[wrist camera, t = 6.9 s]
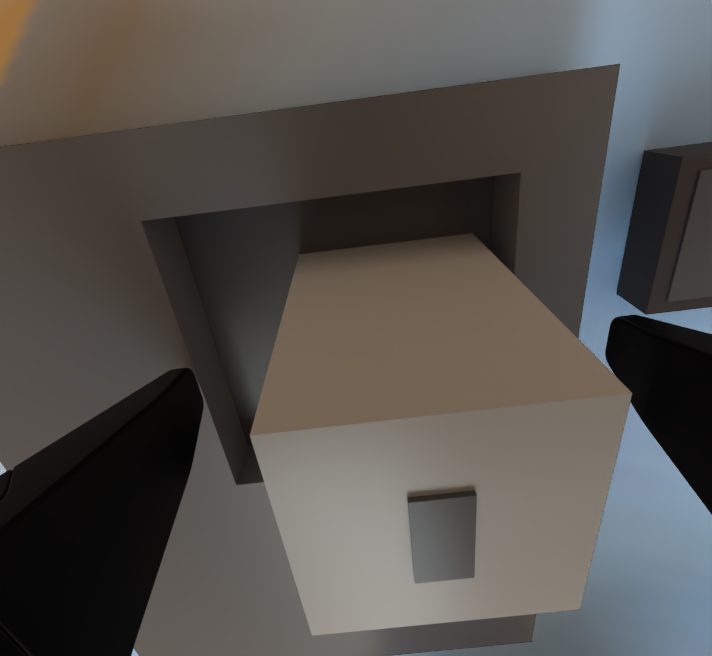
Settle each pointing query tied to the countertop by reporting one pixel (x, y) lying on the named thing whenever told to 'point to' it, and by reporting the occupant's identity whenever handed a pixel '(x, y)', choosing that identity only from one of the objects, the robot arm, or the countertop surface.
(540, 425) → the block
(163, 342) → the outlet plate
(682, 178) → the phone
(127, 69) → the countertop surface
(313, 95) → the countertop surface
